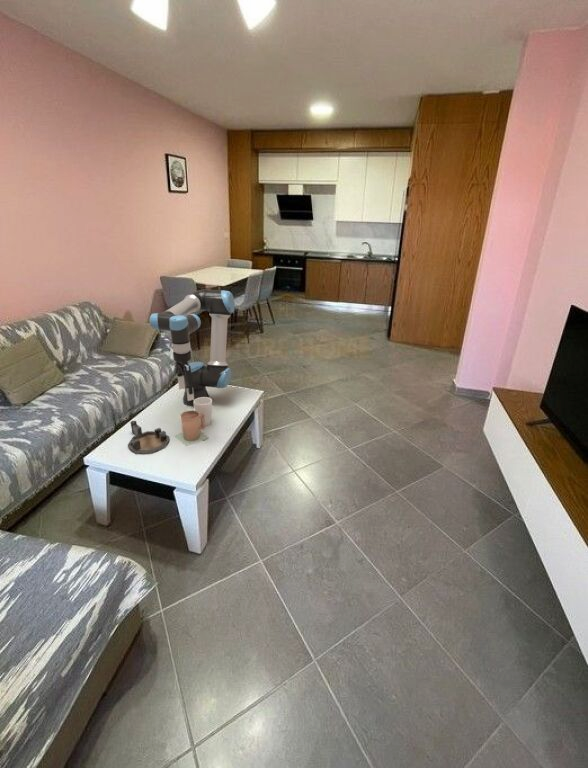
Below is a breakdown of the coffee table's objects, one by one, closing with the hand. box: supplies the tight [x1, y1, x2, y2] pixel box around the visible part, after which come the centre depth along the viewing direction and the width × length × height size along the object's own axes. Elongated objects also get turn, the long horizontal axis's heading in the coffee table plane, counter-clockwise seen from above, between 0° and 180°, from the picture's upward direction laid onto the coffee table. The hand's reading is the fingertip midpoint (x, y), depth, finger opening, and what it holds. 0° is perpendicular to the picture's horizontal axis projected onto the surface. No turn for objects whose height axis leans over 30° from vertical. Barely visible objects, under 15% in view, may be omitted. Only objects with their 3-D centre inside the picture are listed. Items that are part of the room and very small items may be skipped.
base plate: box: [128, 434, 170, 456], centre depth 171 cm, size 18×18×1 cm
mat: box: [174, 430, 210, 447], centre depth 177 cm, size 12×12×1 cm
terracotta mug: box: [179, 410, 206, 441], centre depth 175 cm, size 9×11×12 cm
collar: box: [127, 420, 170, 454], centre depth 171 cm, size 24×17×6 cm
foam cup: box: [193, 397, 213, 427], centre depth 188 cm, size 10×9×13 cm
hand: (186, 394), depth 169 cm, fingers open, 13 cm apart
